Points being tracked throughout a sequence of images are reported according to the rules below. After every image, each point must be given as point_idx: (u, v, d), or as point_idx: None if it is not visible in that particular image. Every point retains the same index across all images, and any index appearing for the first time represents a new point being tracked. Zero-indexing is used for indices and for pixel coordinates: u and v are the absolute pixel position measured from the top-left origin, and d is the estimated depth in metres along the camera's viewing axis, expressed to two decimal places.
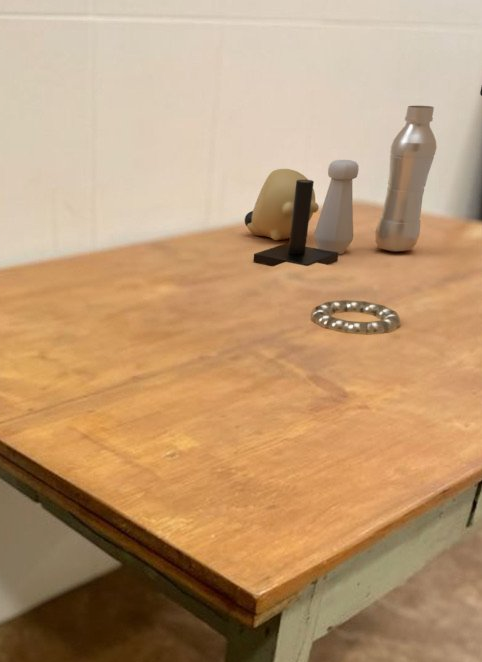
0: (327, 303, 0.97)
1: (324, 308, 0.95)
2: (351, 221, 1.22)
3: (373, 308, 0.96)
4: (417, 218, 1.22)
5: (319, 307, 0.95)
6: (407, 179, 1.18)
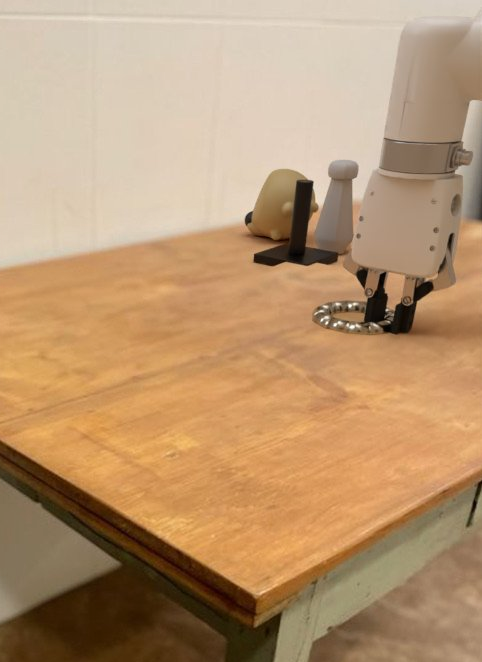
0: (328, 303, 0.96)
1: (325, 308, 0.95)
2: (351, 221, 1.22)
3: None
4: None
5: (320, 307, 0.95)
6: None
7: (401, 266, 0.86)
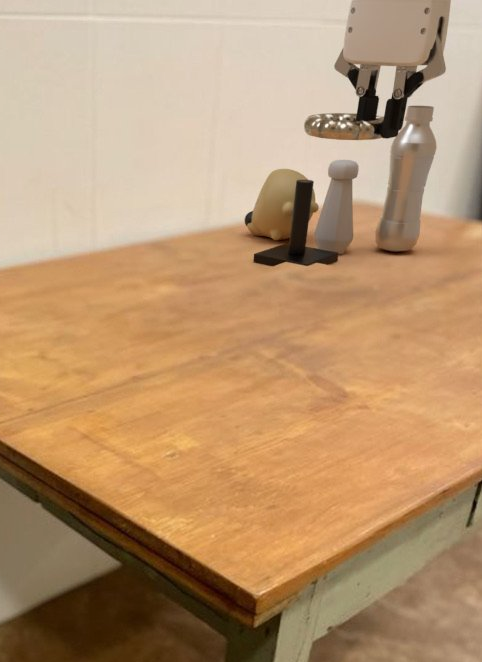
0: (320, 114, 0.98)
1: (317, 116, 0.96)
2: (352, 221, 1.22)
3: None
4: (417, 218, 1.22)
5: (312, 115, 0.96)
6: (407, 179, 1.18)
7: (392, 55, 0.88)
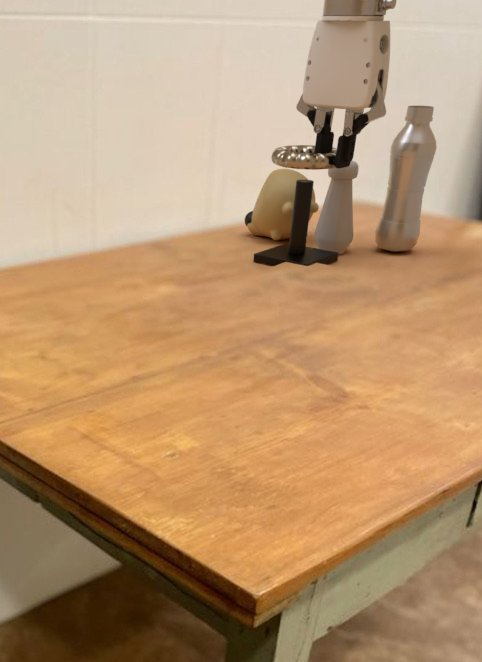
0: (286, 146, 1.15)
1: (283, 148, 1.14)
2: (352, 221, 1.22)
3: None
4: (417, 218, 1.22)
5: (279, 147, 1.14)
6: (407, 179, 1.18)
7: (342, 100, 1.05)
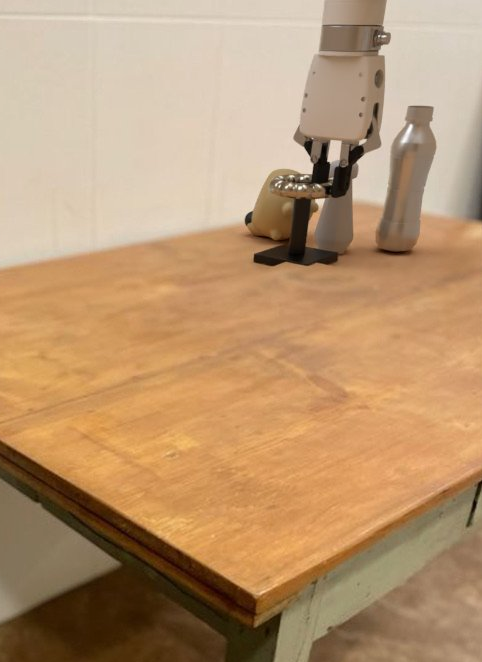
0: (283, 175, 1.17)
1: (280, 177, 1.16)
2: (352, 221, 1.22)
3: None
4: (417, 218, 1.22)
5: (276, 177, 1.16)
6: (407, 179, 1.18)
7: (337, 132, 1.07)
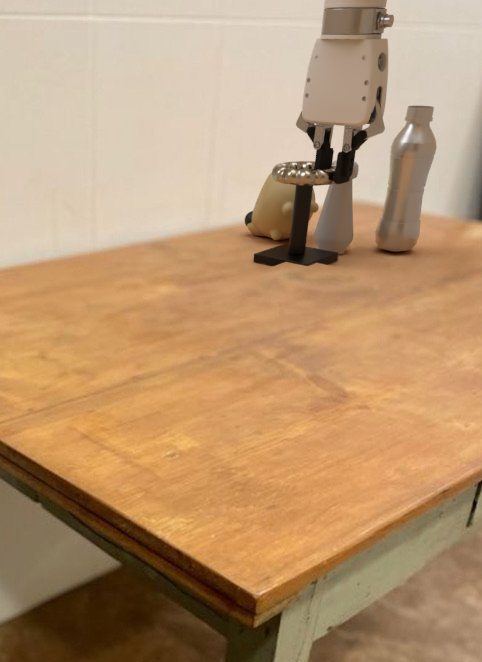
0: (286, 162, 1.16)
1: (283, 165, 1.15)
2: (352, 221, 1.22)
3: None
4: (417, 218, 1.22)
5: (278, 164, 1.15)
6: (407, 179, 1.18)
7: (341, 117, 1.06)
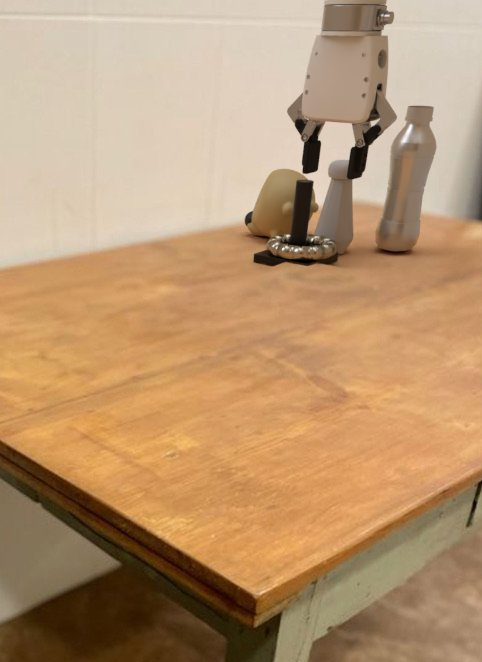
0: (280, 235, 1.21)
1: (277, 238, 1.20)
2: (352, 221, 1.22)
3: (316, 238, 1.21)
4: (417, 218, 1.22)
5: (273, 237, 1.20)
6: (407, 179, 1.18)
7: (340, 114, 1.06)
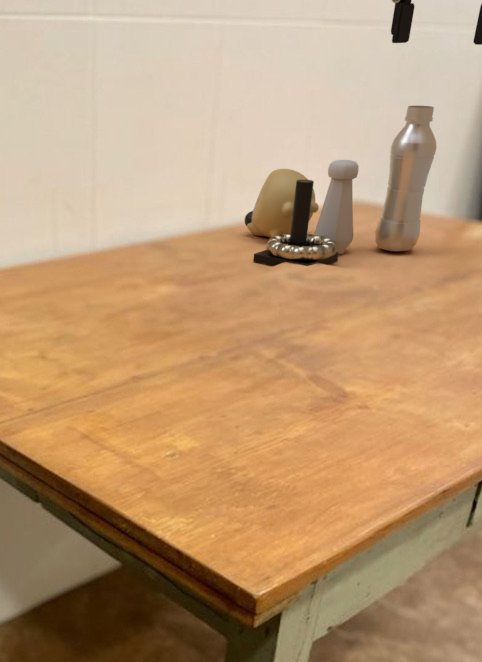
0: (280, 235, 1.21)
1: (277, 238, 1.20)
2: (352, 221, 1.22)
3: (316, 238, 1.21)
4: (417, 218, 1.22)
5: (273, 237, 1.20)
6: (407, 179, 1.18)
7: None
